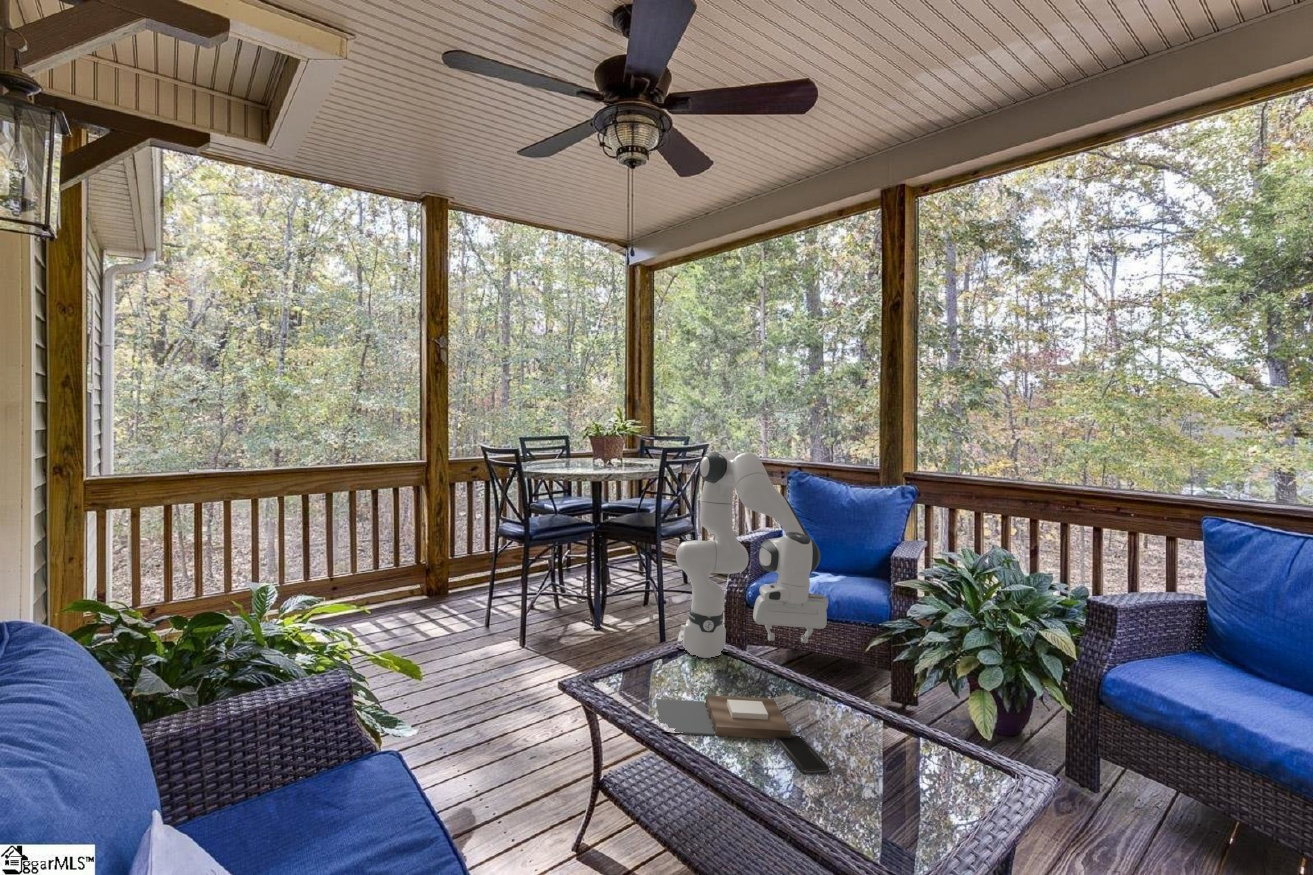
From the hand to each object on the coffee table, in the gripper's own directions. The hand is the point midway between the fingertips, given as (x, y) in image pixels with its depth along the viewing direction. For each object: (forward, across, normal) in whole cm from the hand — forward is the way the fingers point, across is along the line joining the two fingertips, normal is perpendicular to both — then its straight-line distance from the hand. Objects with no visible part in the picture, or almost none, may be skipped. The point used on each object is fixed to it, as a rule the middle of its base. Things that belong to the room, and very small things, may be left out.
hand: (787, 641), depth 168 cm
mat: (+23, +27, 0) cm, 35 cm away
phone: (+24, -2, +15) cm, 29 cm away
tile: (+21, +9, 0) cm, 23 cm away
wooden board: (+23, +9, 0) cm, 25 cm away
